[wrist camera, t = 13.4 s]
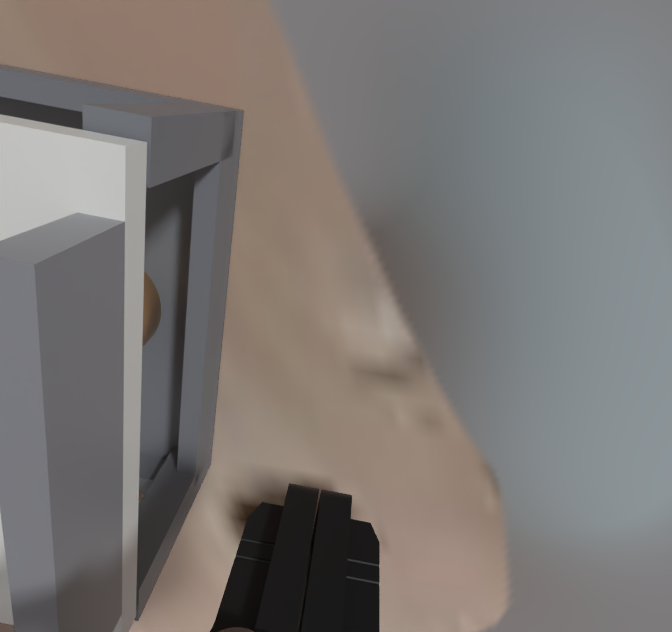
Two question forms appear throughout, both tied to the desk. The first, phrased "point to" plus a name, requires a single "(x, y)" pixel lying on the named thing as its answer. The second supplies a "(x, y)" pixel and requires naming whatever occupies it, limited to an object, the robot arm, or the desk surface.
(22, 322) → the lid
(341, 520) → the robot arm
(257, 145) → the desk surface
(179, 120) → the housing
